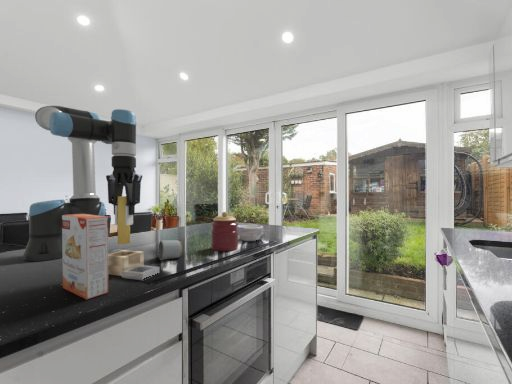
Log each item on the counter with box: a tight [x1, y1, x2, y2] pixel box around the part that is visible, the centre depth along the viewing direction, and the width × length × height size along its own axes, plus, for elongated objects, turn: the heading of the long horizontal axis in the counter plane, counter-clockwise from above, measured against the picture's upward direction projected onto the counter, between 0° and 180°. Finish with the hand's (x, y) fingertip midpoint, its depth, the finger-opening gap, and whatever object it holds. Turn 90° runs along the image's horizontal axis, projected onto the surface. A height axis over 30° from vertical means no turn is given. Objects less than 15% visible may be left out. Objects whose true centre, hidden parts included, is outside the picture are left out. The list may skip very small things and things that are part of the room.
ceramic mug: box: [157, 239, 183, 261], centre depth 111 cm, size 11×8×8 cm
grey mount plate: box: [121, 264, 160, 281], centre depth 88 cm, size 8×8×2 cm
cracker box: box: [62, 214, 109, 300], centre depth 73 cm, size 14×6×21 cm, turn 56°
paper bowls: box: [237, 224, 264, 242], centre depth 152 cm, size 15×15×8 cm
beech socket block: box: [108, 249, 145, 277], centre depth 92 cm, size 9×9×6 cm
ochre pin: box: [117, 195, 131, 245], centre depth 92 cm, size 4×4×16 cm
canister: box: [210, 211, 239, 252], centre depth 129 cm, size 13×13×18 cm
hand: (124, 224), depth 92 cm, fingers closed on ochre pin, 4 cm apart
